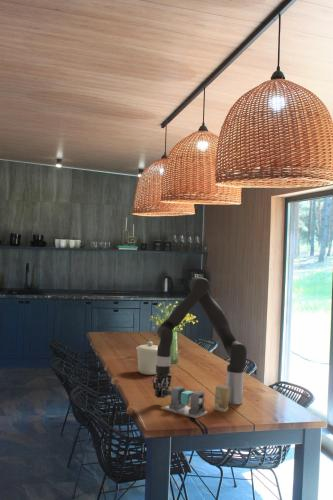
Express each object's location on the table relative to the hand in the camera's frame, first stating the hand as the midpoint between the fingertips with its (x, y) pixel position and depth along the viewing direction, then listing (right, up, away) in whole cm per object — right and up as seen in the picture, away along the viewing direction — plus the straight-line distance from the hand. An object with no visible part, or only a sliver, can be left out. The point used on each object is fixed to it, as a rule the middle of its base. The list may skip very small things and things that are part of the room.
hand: (161, 396), depth 269 cm
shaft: (+9, 0, -7) cm, 11 cm away
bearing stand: (+12, -5, -9) cm, 16 cm away
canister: (-9, -5, +68) cm, 69 cm away
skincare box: (+31, -6, -3) cm, 32 cm away
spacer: (+13, -1, -10) cm, 17 cm away
